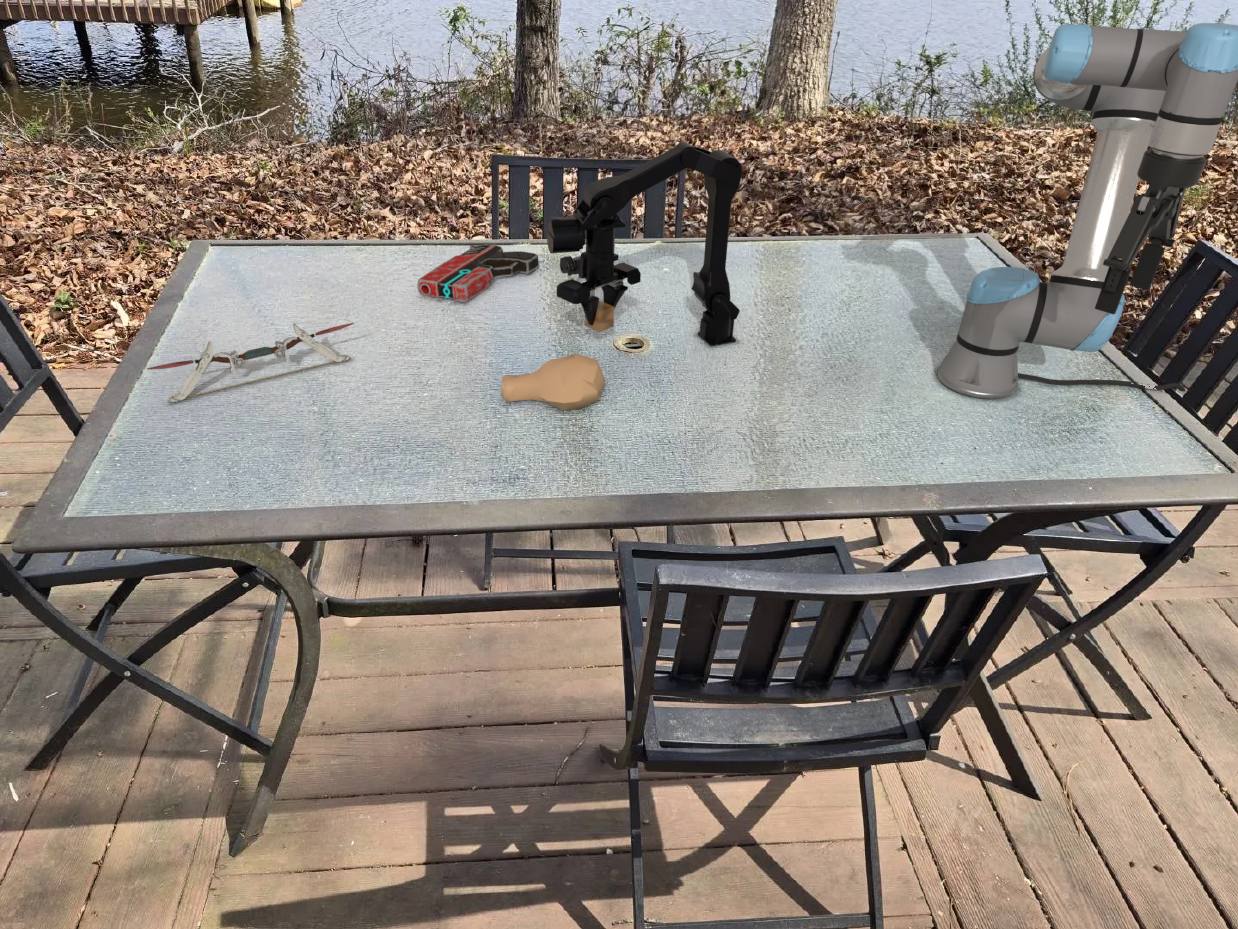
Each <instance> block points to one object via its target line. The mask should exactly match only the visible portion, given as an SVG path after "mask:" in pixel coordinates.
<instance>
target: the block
mask: <svg viewBox="0 0 1238 929" xmlns="http://www.w3.org/2000/svg"><path fill="white" fill-rule="evenodd" d="M614 315H615V309H614V307H613V306H611V305H609V304H607V303H604V302H603V301H602V300H599V303H598V308H597V312H596V317H595V321H594V324H593V325H590V324H589V323H588V321H587V318H586V315H585V314H584V326H585V327H586V328H589V329H591V330H594V331H596V332H597V333H600V332H603V331H607V330H609V329H611V328H613V327H614V323H615V322H614V319H615V316H614Z"/></svg>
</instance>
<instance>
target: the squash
mask: <svg viewBox="0 0 1238 929" xmlns="http://www.w3.org/2000/svg"><path fill="white" fill-rule="evenodd" d="M501 377H502V378H501V380H502V382H501V383H502V385H501V391H500V396H501V397H502V398H503V399H504V401H505V402H506V403H509V402H518V401H533V400H534V401H538V402H544V403H546V404H548V405H550V406H552V407H555V408H557V409H560V410H561V411H572V410H573V411H574V410H581V409H583V408H586V407H587V406H590V405H592V404H594V403H596V402H598V401H599V400H600V398H601V396H602V393H603V390H604V386H605V383H606V378H605V375H604V373H603V371H602V368H601V366H600V363H599V360H598V359H595V358H592V357H589V356H586V355H583V354H577V353H572V354H570V355H567V356H563V357H558V358H552V359H548V361H546V362H545V363H543V364H542V365H541V366H540V368H538V369H537V370H535V371H533V372H531V373H524V374H505V375H502V376H501Z"/></svg>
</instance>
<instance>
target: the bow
mask: <svg viewBox="0 0 1238 929" xmlns="http://www.w3.org/2000/svg"><path fill="white" fill-rule="evenodd" d="M354 324H355V322H351V323H346V324H342V325H337V326H333V327H329V328H326V329H323V330H319V331H316V332H315V333H311V334H309V333H308V332H307V331H305V330H304V329H302V328H300V327H299V326H298V324H297V323H295V322H293V323H292V326H293V330H294V333H295V335H297V337H296V336H288V337H286V338H285V339H284V340H282V341H280V340H279V341H277V340H275V341H274V345H275V346H272V347H270V346H262V347H258V348H253V349H249V350H246V351H245V352H243V353H242V354H239V353H237V351H236V350H235V349H233V350H232V351H230V352H224V351H221V352H217V353H214V346H213V343H212V342H211V341H207V344H206V347H205V349H204V351H203V352H202V353H201V354H200V358H199V359H194V360H193V359H192V360H191V359H189V360H183V361H175V362H170V363H169V362H168V363H165V364H161V365H160V364H159V365H156V366H152V367H151V366H150V367H147V368H146V370H147V371H150V370H151V371H152V370H163V369H172V368H177V367H182V366H187V365H192V364H196V367H195V369H193V370H192V371H191V373H190V374H189V376H188V377H187V378H186V379H185V381H184V383H183V385H182V387H181V390H180V391H178V392H177V393H175V394H172V395H171V396H169V397H168V399H169V402H172V403H175V402H180V401H184V400H185V399H187V398H191V397H195V396H199V395H200V396H201V395H204V394H207V393H212V392H217V391H220V390H224V389H230V388H233V387H237V386H241V385H246V384H250V383H253V382H258V381H261V380H262V381H263V380H266V379H271V378H274V377H279V376H283V375H286V374H292V373H295V372H301V371H303V370H308V369H312V368H316V367H320V366H325V365H329V364H332V363H342V362H346V361H349V359H350V356H349V354H336V353H335V352H334V351H333V350H332V349H331V348H329V347H328V346H327V345H325V344H323V343H321V342H319V341H316V340H315V339H313V338H315V337H317V336H322V335H325V334H326V335H327V334H331V333H334V332H336V331H339V330H343V329H345V328H347V327H350V326H353V325H354ZM299 343H300V344H304V345H306V346H308V347H309V348H311V349H313V350H315V352H317V353H319V354H320V355H322V356H323V357H325V358H327V359H329V360H331V361H329V362H326V363H321V364H317V365H313V366H308V367H305V368H300V369H296V370H292V371H287V372H283V373H279V374H275V375H272V376H271V375H270V376H267V377H262V378H259V379H254V380H251V381H245V382H242V383H238V384H234V385H230V386H225V387H221V388H217V389H213V390H208V391H205V392H199V393H195V394H192V395H191V393H192V392H193V391H194V390H195V387H196V386H197V384H198V382H199V381H200V379H201V378H202V376H203V375H204V373H205V372H206V371H207V369H209V367H210V366H211V364H212V363H213V362H215V363H222V364H229V373H230V374H231V375H236V374H237V372H236V371H237V370H236V368H241V367H243V366H244V364H245V361H247V360H252V359H257V358H261V357H265V356H270V355H274V356H275V357H276V358H277V359H278V358H279V359H280V358H282V357H283V358H284V360H285V362H291V361H292V360H291V358H290V355H289V354H288V350H290V349H292V348H294V347H295V346H296V345H298V344H299Z"/></svg>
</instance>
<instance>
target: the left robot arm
mask: <svg viewBox="0 0 1238 929" xmlns="http://www.w3.org/2000/svg"><path fill="white" fill-rule="evenodd" d="M687 169H690V170H693V171H696V172H698V173H700V174H702V175H703V182H704V186H705V189H706V193H707V198H708V199H707V200H708V203H707V214H706V215H707V216H706V228H705V240H704V254H703V255H704V256H703V265H702V266H701V269H700V270H699V271H693V273H692V277H693V279H692V280H693V282H692V286H691V290H692V291H693V292H694V296H695V298H696V299H697V300H699V301H698V302H700V304H701V305H702V307H704V308H705V310H703V311H702V318H700V322H699V331H698V332H697V336H698V337H700V339H701V340H703V341H704V342H705V343H707V345H708V346H711V347H714V346H720V345H724V344H731V343H735V342H737V338H735V336H734V327H735V320H737V318H738V316H739V314H740V312H741V310H740V309H739V307H738V306H736V304H735V303H733V302H732V300H731V286H730V281H729V277H728V273H727V270H726V269H727V268H726V266H727V256H728V245H729V244H728V243H729V233H730V223H731V211H732V202H733V199H734V198H735V196H736V194H737V193H738V191H739V189H740V185H741V182H742V181H741V180H742V178H743V177H742V176H743V171H744V170H743V165H742V163H741V162H740V161H739V160H738V159H737V158H736V157H734V156H732V155H731V154H729V152H726V151H724V150H722V149H715V150H713V151H710V150H708V149H706V148H702V147H699V146H695V145H692V144H690V143H689V142H686V141H682V142H678V143H677V144H676V145H675V146H674V147H672V148H670V149H668V150H667V151H664V152H663V153H660V154H659V155H657V156H655V157H653V158H651V159H649V160H648V161H646V162H643V163H642V164H640V165H638V166H636V167H635V168H633V169H631V170H628V171H627V172H625V173H622V174H620V175H615V176H607V177H605V178H601V179H598V180H595V181H591V182H590V183H589V184H588V185H586V187H584V192H583V196H582V199H581V200H580V201H579V203H578V204H577V206H576V207H575V208H574V210H573V211H572V215H573V216H564V217H563V216H561V217H560V216H550V217H549V223H548V225H547V230H546V240H547V241H546V242H547V247H548V252H549V253H550V254H564V253H565V254H566V253H576V252H581V250H583V249H584V246H585V251H582V252H581V254H580V255H579V256H575V257H572V256H571V255H568V256H567V255H565V256H563V257H560V258H559V269H560V272H561V273H562V274H567V276H568V277H572V276H573V275H578V278H580V279H582V280H583V279H585V281H584V282H581V281H578V280H576V279H573V278H571V279H569V280H565V281H562V282H559V284H557V285H556V297H557V298H560V299H561V300H564V301H566V302H568V303H570V304H572V305H580V306H581V308H582V310H583V312H584V316H585V315H586V318H587V321H588V323H589V324H590V325H593V324H594V321H595V317H596V312H597V308H598V303H599V301H600V297H598V296H596V290H597V289H599V288H601V290H602V293H603V294H602V295H603V296H602V298H603V301H602V302H604V303H607V304H609V305H611V306H613V307H614V310H615V309H616V307H617V305H618V303H620V300H621V299H622V297H623V296H624V294H625V292H626V291H628V290H629V287H628V286H627V285H624V280H625V279H626V281H627V283H628V284H629V285H630V286H633V285H636V284H639V283H641V277H642V276H641V274H642V273H641V271H640V269H639V267H636V266H634V265H631V264H628V263H625V262H619V263H617V264H615V262H617V261H619V259H620V258H619V257H620V256H619V254H617V253H615V243H616V239H615V238H616V229H621V228H626V223H625V222H624V221H623V220H622V219H621V217H620V216H619V214H618V213H620V212H621V211H623V209H625V208H626V207H627V206H628V204H629V203H630V202H631V200H633V199H634V198H636V196H638V195H640V194H642V193H644V192H645V191H648V190H649V189H651V188H653V187H654V186H655V187H656V186H657V185H659V184H661V183H662V182H664V181H666V180H668V179H670V178H672V177H673V176H675V175H678V174H679V173H682V172H683V171H685V170H687Z"/></svg>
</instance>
